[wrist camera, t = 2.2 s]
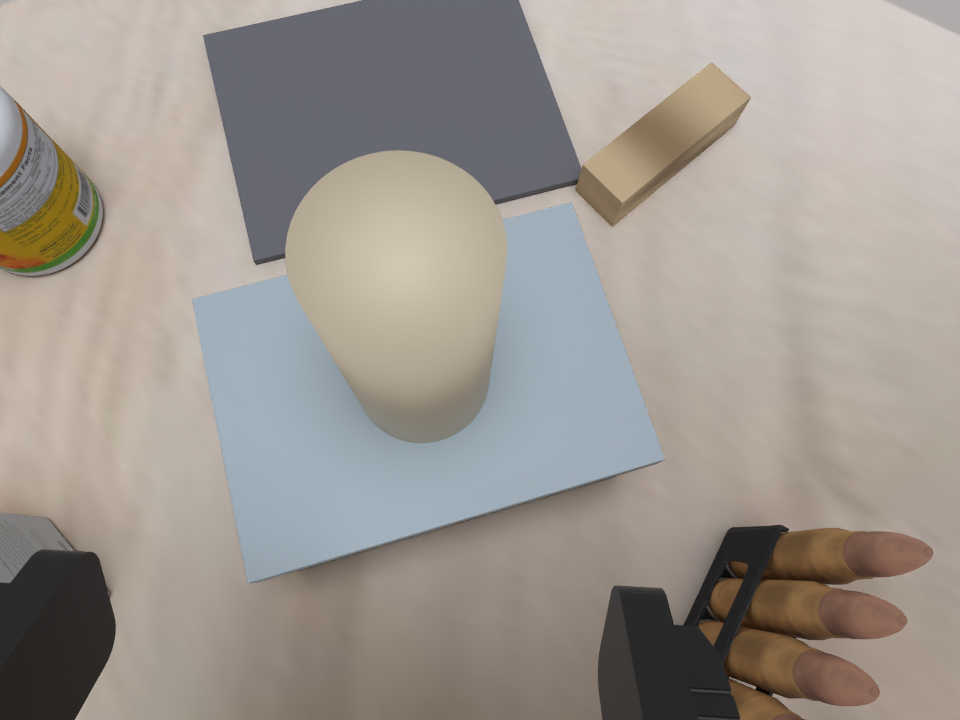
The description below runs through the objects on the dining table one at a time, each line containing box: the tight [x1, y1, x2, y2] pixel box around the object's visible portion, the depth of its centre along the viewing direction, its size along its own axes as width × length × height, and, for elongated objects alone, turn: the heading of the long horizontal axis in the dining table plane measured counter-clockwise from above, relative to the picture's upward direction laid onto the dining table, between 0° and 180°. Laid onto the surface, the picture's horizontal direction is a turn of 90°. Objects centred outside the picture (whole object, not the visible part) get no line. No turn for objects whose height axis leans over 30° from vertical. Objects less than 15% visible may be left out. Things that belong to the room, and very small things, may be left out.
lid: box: [192, 150, 665, 583], centre depth 20 cm, size 14×10×11 cm
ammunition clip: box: [684, 525, 933, 720], centre depth 22 cm, size 11×2×12 cm, turn 150°
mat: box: [203, 0, 581, 265], centre depth 34 cm, size 15×12×1 cm
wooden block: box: [576, 63, 751, 227], centre depth 33 cm, size 8×2×2 cm, turn 131°
